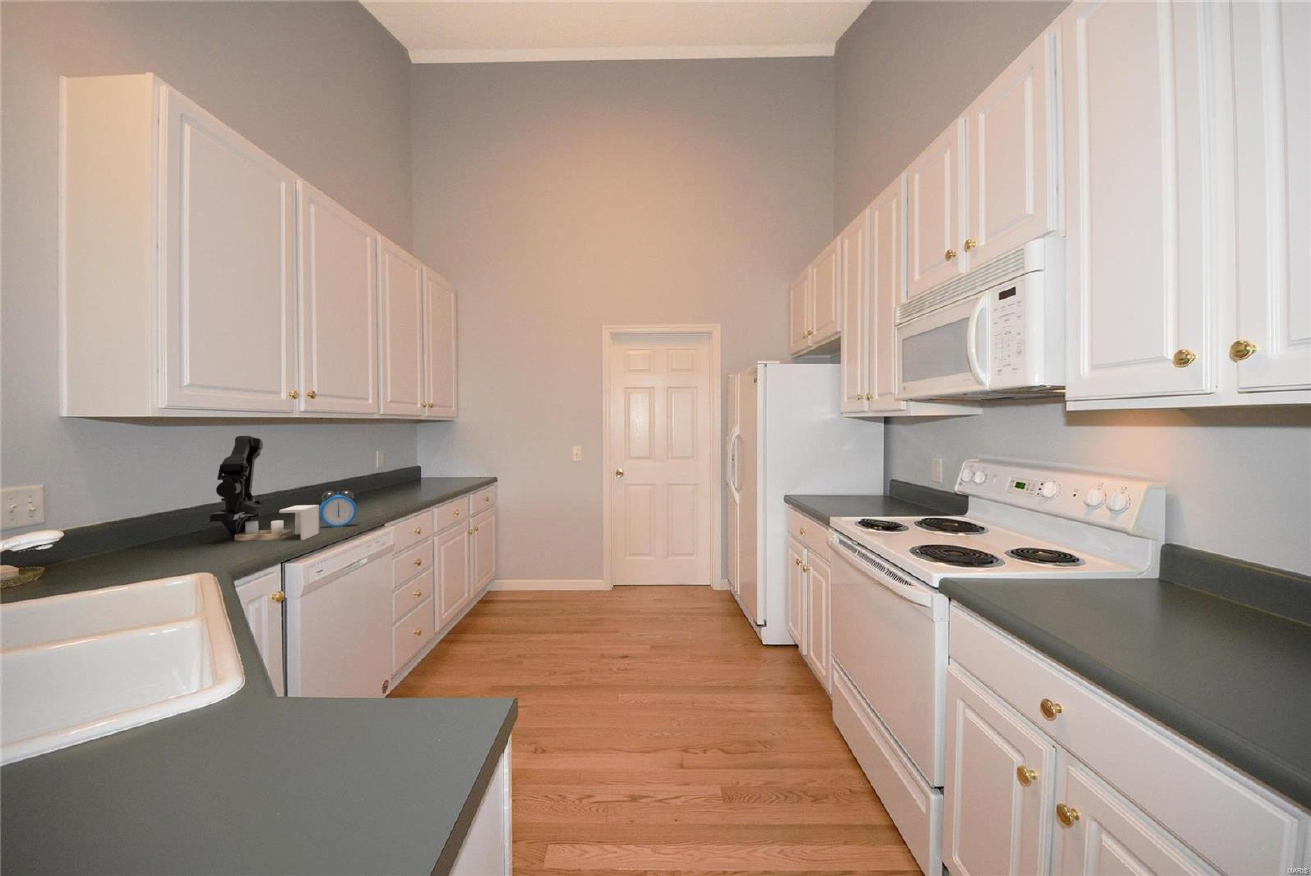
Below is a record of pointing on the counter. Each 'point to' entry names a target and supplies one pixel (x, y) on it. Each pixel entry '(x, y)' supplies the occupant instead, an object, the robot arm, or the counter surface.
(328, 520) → the alarm clock
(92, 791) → the counter surface
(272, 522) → the white rounded cylinder
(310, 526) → the white l-shaped bracket
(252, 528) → the grey rounded cylinder
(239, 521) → the robot arm
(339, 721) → the counter surface
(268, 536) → the tray
